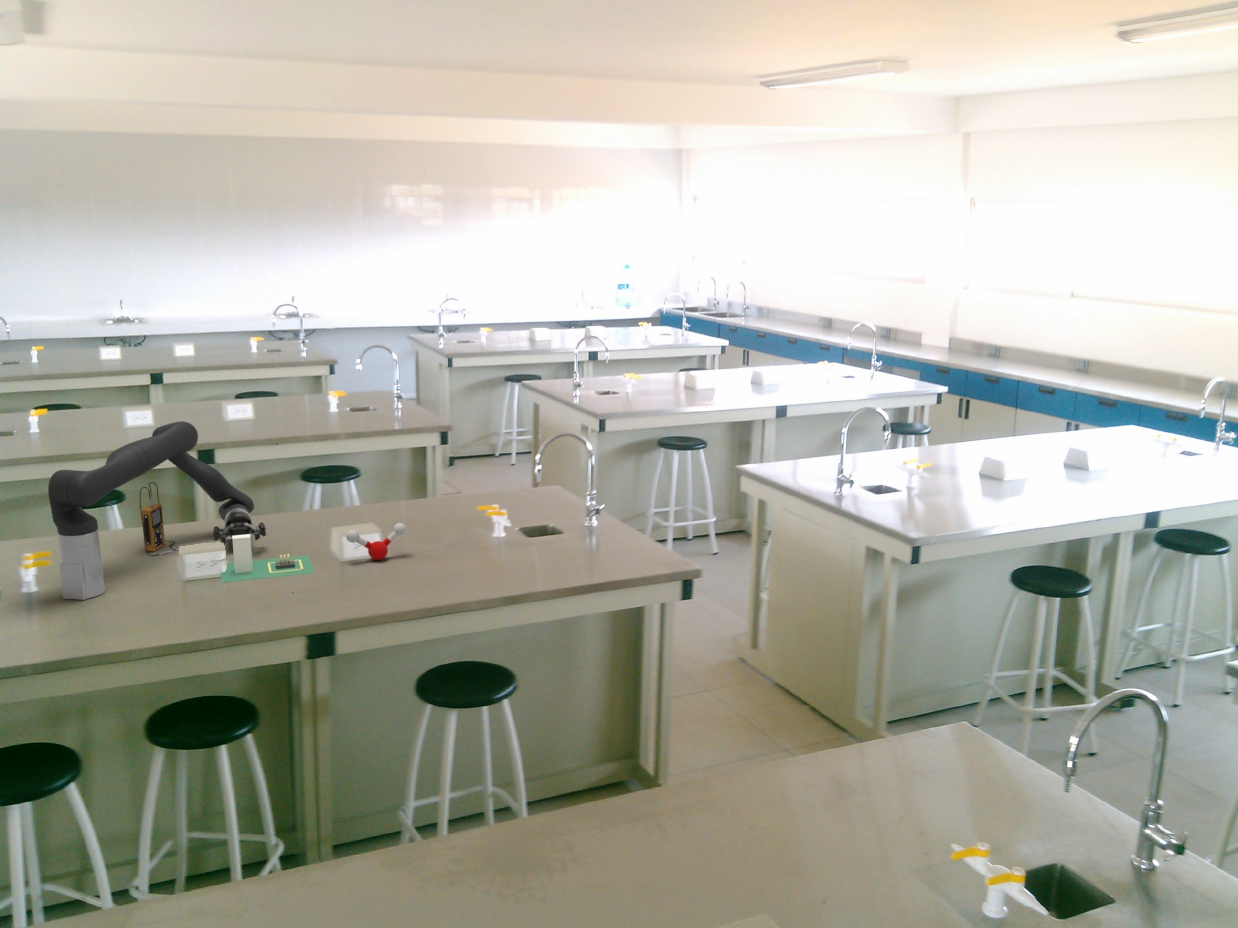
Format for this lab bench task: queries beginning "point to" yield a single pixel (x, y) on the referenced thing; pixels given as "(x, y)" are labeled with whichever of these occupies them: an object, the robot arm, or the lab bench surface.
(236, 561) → the plug
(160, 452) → the robot arm
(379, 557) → the molecular model
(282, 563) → the pin header
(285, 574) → the circuit board
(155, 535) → the multimeter
